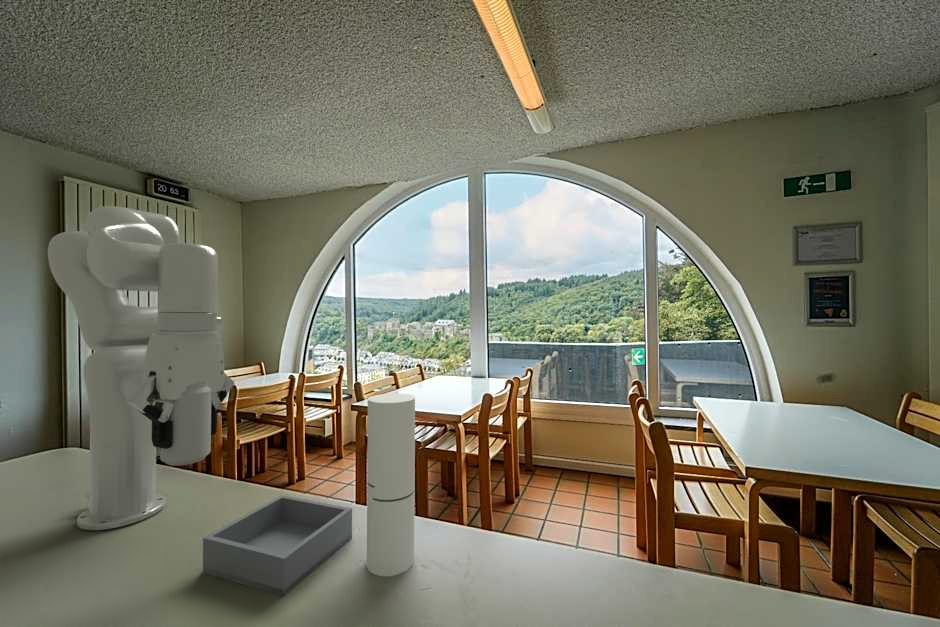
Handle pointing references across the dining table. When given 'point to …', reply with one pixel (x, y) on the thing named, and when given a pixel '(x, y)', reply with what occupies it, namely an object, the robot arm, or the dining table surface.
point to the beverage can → (190, 427)
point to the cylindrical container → (390, 483)
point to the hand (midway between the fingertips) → (186, 439)
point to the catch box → (277, 543)
